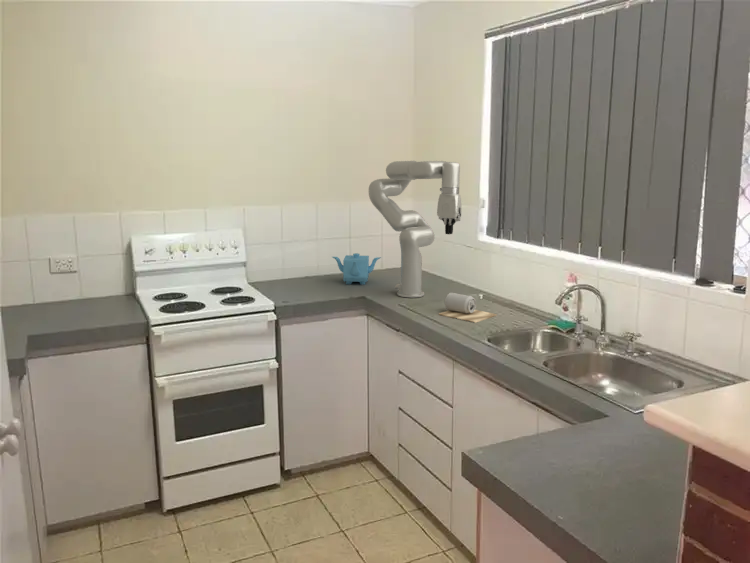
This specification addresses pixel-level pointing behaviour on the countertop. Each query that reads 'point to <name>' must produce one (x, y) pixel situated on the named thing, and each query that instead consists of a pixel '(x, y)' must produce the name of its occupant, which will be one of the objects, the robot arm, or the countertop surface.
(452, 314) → the mat
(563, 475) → the countertop surface
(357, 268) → the teakettle
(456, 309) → the can
